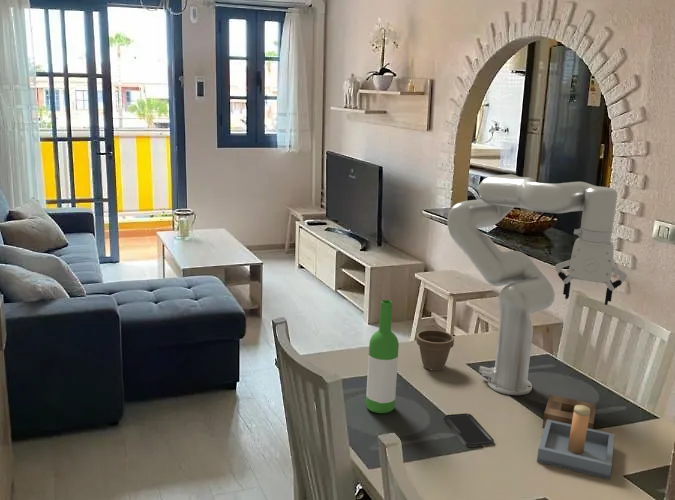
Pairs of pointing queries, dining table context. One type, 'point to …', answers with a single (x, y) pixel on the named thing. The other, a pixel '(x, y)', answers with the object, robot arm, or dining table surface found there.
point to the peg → (579, 429)
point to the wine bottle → (382, 364)
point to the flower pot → (434, 348)
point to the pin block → (565, 410)
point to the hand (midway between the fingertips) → (586, 300)
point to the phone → (468, 430)
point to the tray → (557, 453)
